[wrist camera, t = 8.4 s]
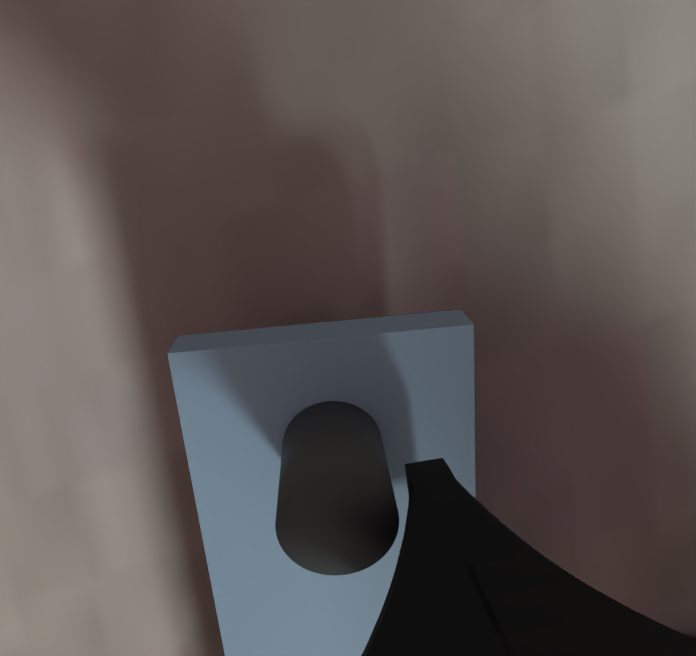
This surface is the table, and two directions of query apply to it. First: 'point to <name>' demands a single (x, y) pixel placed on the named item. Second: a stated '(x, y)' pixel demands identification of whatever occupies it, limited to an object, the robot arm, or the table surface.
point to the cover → (317, 466)
